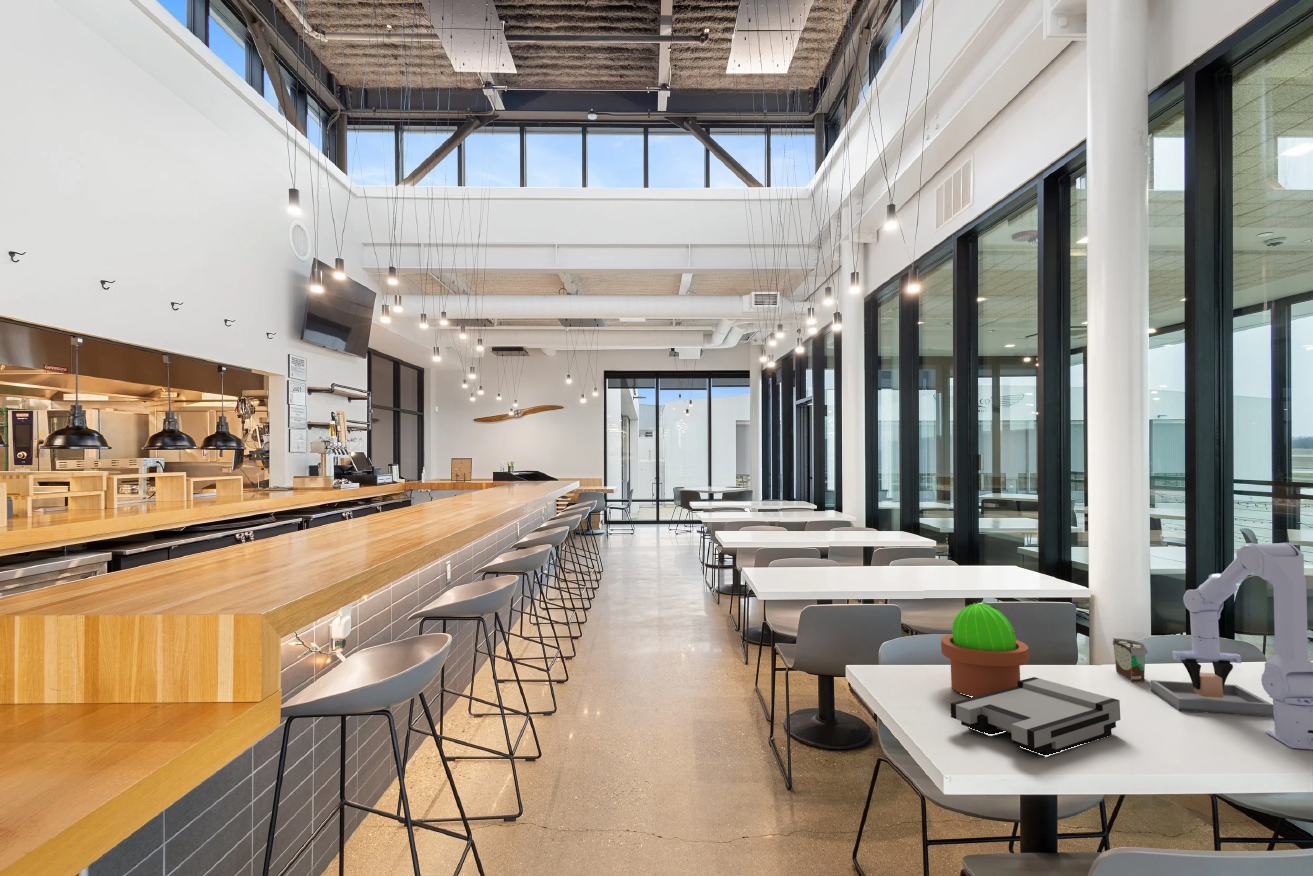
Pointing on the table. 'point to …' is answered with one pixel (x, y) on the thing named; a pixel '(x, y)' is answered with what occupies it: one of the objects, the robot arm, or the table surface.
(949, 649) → the potted cactus
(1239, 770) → the table surface
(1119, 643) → the food container
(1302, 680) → the robot arm
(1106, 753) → the table surface
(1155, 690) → the bin
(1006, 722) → the gray blocky slab
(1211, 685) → the terracotta block
